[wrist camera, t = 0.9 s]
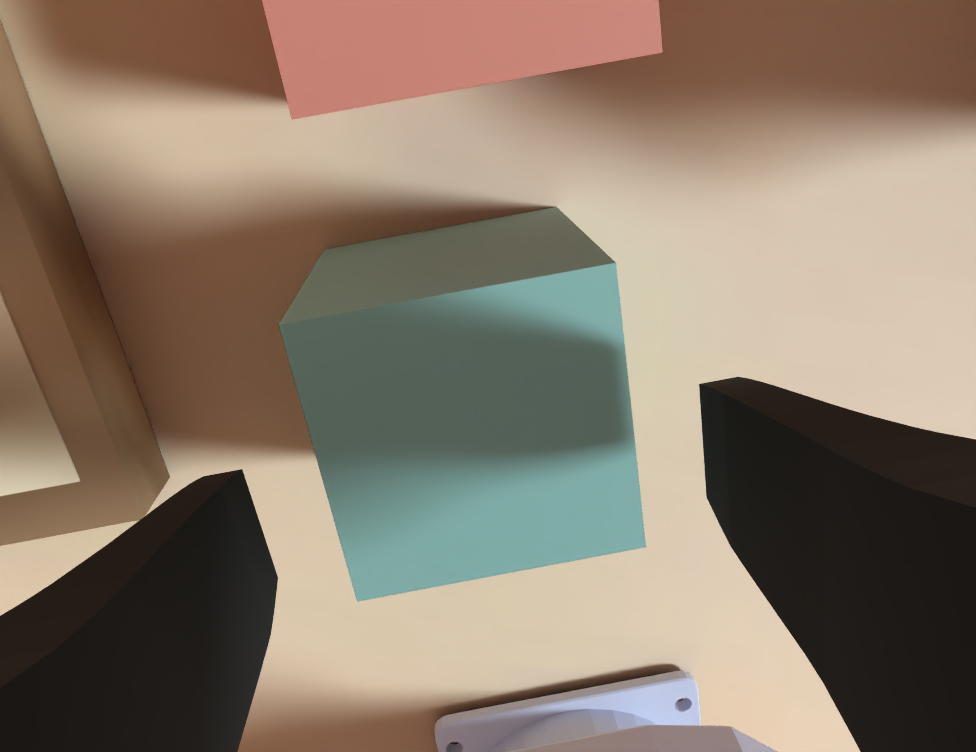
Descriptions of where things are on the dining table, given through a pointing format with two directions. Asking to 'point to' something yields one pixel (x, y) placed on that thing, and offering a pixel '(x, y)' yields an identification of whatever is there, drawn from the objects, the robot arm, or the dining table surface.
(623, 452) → the teal block
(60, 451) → the walnut base plate
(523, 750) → the robot arm
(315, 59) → the brick block
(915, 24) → the dining table surface
